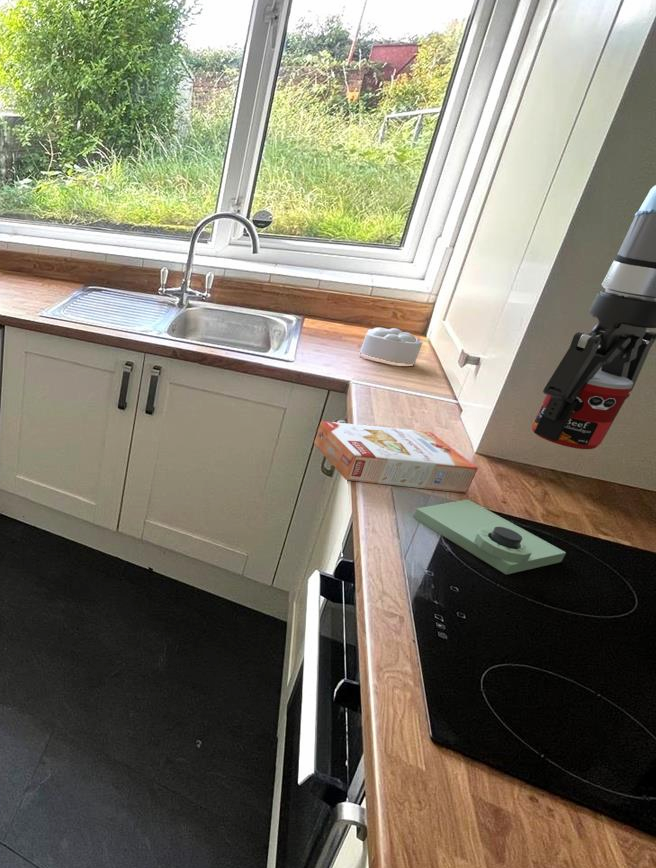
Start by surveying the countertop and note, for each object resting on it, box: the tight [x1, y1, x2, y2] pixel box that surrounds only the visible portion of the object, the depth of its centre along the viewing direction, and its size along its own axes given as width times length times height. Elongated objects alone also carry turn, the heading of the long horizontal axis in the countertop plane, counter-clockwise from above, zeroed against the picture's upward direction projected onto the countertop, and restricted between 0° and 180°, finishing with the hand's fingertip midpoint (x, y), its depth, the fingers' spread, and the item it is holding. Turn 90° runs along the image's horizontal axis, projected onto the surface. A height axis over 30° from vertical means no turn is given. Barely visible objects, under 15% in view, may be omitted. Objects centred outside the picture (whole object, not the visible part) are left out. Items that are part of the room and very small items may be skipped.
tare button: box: [490, 527, 522, 549], centre depth 88 cm, size 3×3×2 cm
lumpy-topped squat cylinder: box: [359, 326, 423, 364], centre depth 168 cm, size 10×13×9 cm
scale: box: [412, 499, 567, 575], centre depth 93 cm, size 14×12×4 cm
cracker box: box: [313, 420, 479, 494], centre depth 112 cm, size 14×6×21 cm
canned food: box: [531, 368, 633, 450], centre depth 90 cm, size 8×8×11 cm
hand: (565, 433), depth 91 cm, fingers closed on canned food, 8 cm apart
